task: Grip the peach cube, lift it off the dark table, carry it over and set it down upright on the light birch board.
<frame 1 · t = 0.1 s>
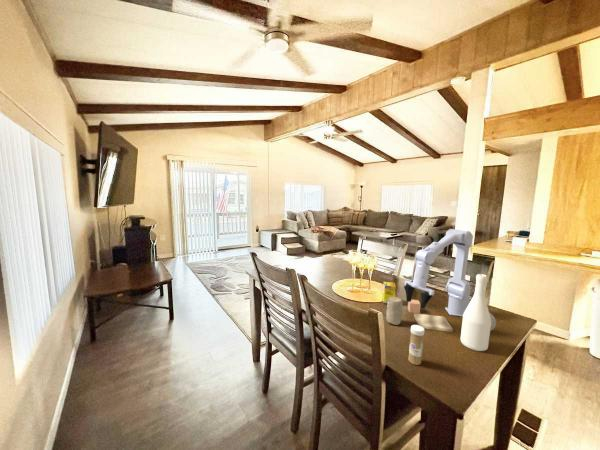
hand: (415, 304, 120), 11 cm above the table, tool pointing down, fingers open, 7 cm apart
birch board: (432, 323, 124), on the table
wine bottle: (473, 345, 107), on the table
peach cube: (413, 310, 137), on the table
carving: (393, 323, 124), on the table
sprinkles bottle: (414, 361, 97), on the table
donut: (481, 331, 118), on the table
supplement box: (388, 302, 147), on the table
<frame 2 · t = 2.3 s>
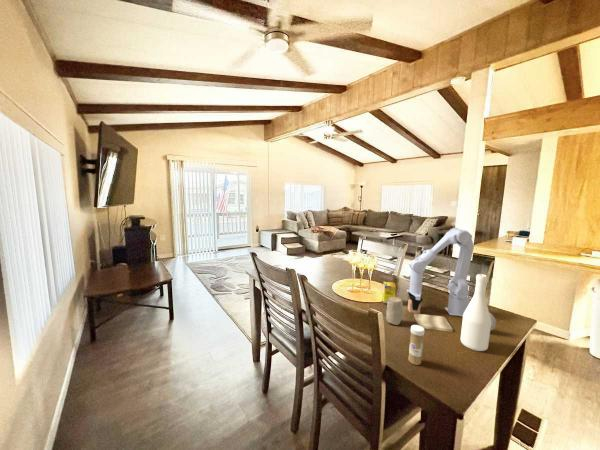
hand: (413, 307, 137), 2 cm above the table, tool pointing down, fingers closed on peach cube, 5 cm apart
peach cube: (413, 310, 137), on the table, touching gripper
everything else where it was.
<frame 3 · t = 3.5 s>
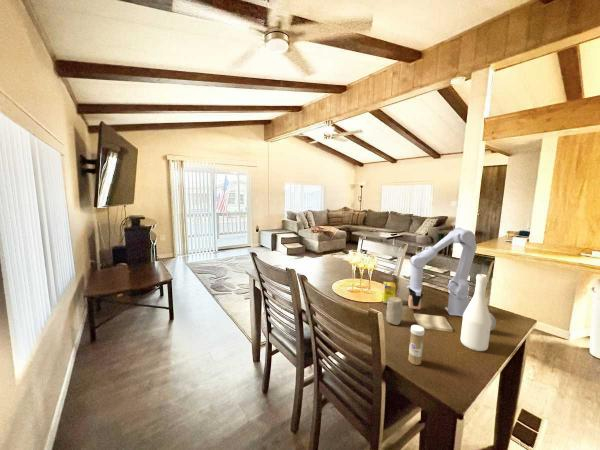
hand: (414, 303, 137), 4 cm above the table, tool pointing down, fingers closed on peach cube, 5 cm apart
peach cube: (414, 306, 137), point 2 cm above the table, touching gripper
everything else where it was.
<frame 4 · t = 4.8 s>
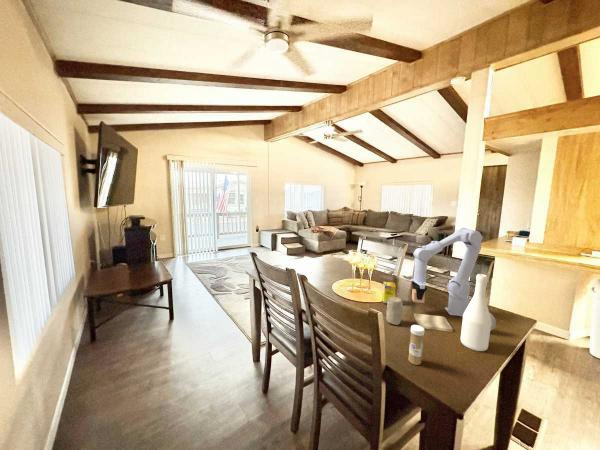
hand: (418, 297, 134), 8 cm above the table, tool pointing down, fingers closed on peach cube, 5 cm apart
peach cube: (417, 300, 134), point 7 cm above the table, touching gripper
everything else where it was.
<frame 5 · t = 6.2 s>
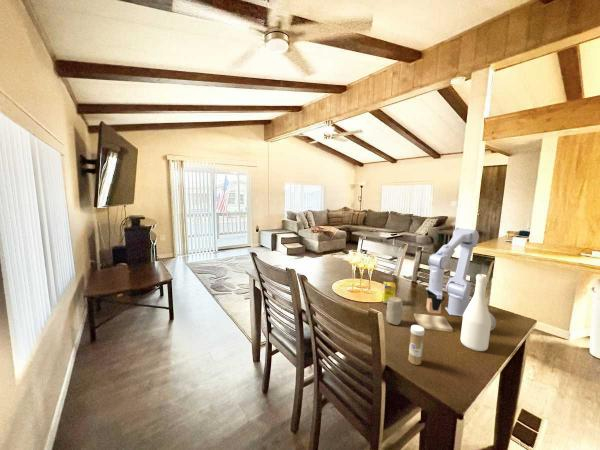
hand: (433, 307, 123), 8 cm above the table, tool pointing down, fingers closed on peach cube, 5 cm apart
peach cube: (433, 310, 124), point 6 cm above the table, touching gripper
everything else where it was.
when the fingers open (4 cm above the table, at t = 7.5 s): peach cube drops 1 cm, resting on birch board.
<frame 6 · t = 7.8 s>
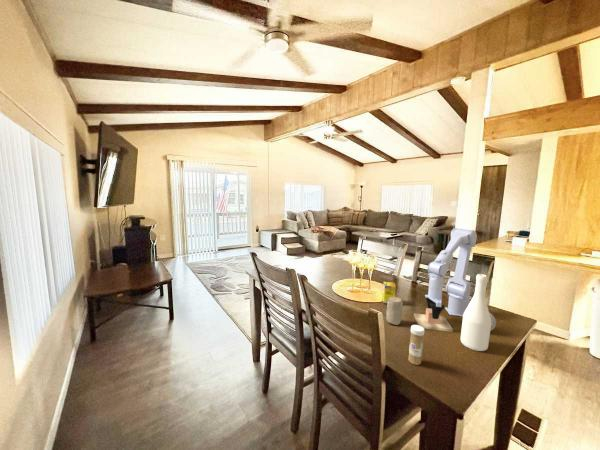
hand: (432, 314, 124), 4 cm above the table, tool pointing down, fingers open, 7 cm apart
peach cube: (432, 320, 124), point 1 cm above the table, touching birch board
everything else where it was.
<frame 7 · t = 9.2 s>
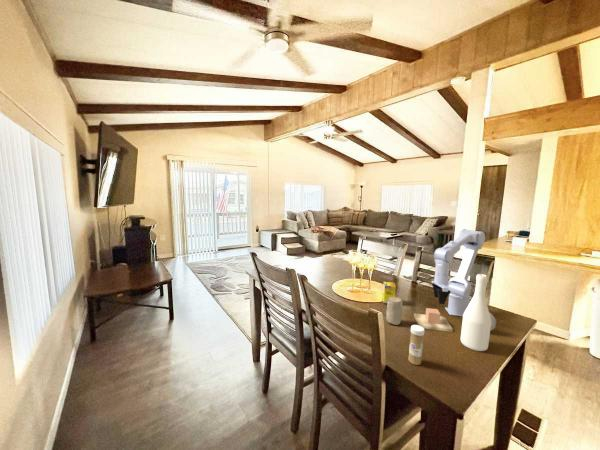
hand: (439, 300, 126), 10 cm above the table, tool pointing down, fingers open, 7 cm apart
nothing on the table moved.
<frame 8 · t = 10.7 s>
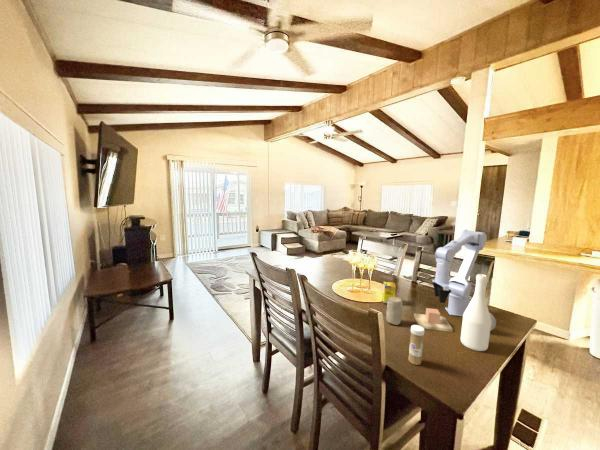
hand: (439, 299, 127), 10 cm above the table, tool pointing down, fingers open, 7 cm apart
nothing on the table moved.
at the end: peach cube inside the target area on the birch board (0.1 cm from its centre), point 1.2 cm above the birch board's base; peach cube tilted 0°; the gripper is holding nothing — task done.
